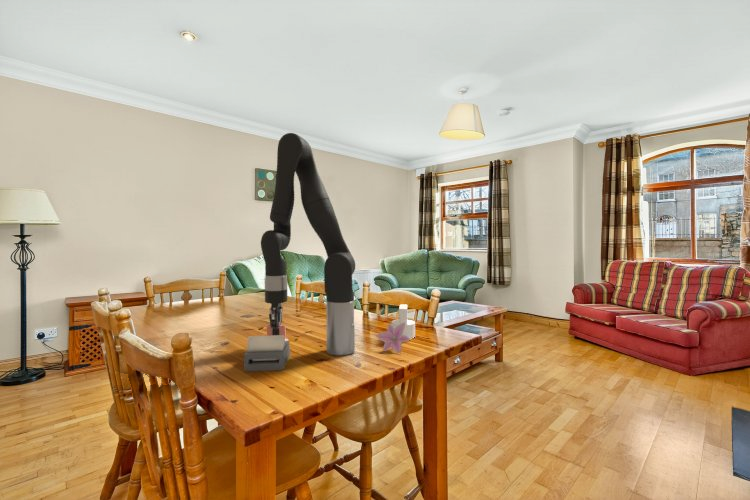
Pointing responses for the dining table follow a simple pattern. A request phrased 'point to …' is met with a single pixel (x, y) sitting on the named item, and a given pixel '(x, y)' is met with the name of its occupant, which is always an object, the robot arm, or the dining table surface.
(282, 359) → the dispenser
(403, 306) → the base with upright slab
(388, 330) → the lily
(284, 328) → the pink-tipped cream block
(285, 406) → the dining table surface
